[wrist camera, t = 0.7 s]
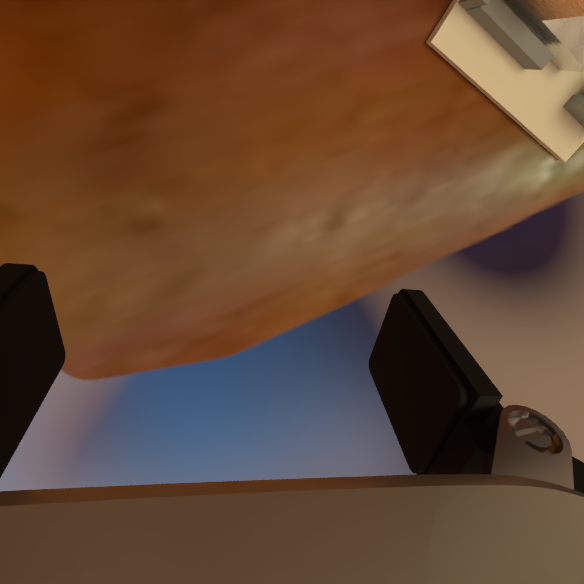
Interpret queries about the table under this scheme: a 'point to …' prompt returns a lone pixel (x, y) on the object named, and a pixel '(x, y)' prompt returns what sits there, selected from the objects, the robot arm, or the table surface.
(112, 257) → the table surface
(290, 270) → the table surface
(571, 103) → the socket
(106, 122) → the table surface
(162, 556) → the robot arm
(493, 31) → the board
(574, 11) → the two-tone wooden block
